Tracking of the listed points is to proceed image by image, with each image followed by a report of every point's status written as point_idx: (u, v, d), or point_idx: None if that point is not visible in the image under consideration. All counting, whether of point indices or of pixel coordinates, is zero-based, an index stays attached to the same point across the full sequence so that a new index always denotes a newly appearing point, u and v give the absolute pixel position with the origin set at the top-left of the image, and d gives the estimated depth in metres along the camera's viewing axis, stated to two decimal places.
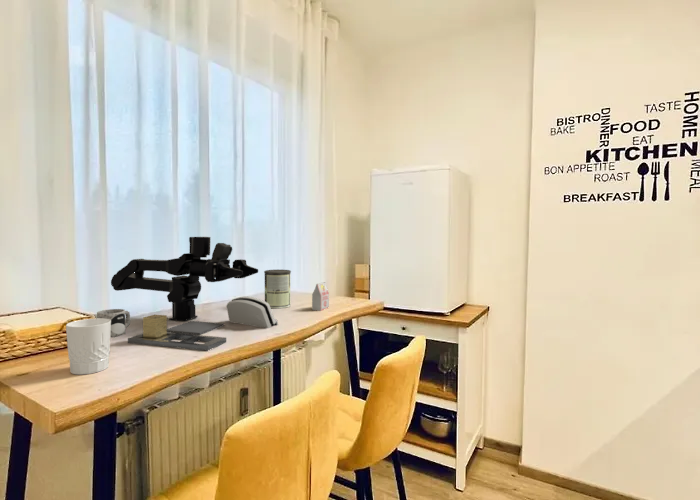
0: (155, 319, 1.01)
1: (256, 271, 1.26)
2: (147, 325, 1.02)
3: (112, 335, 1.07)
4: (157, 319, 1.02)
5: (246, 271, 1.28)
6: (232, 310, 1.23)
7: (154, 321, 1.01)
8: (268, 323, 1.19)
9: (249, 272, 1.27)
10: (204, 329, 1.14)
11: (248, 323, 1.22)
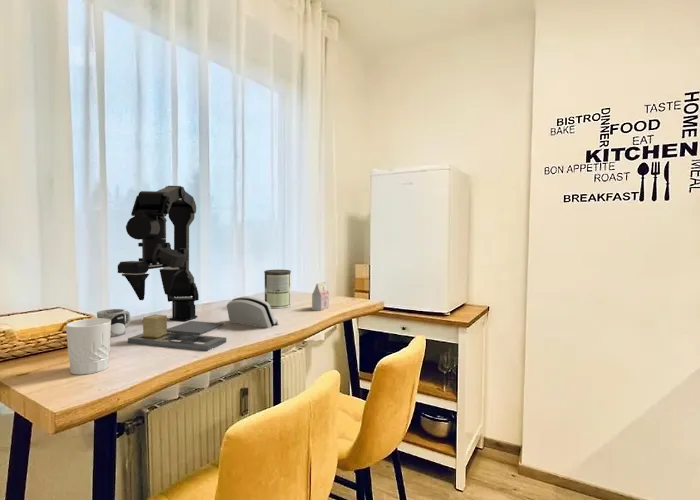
0: (155, 319, 1.01)
1: (166, 293, 1.08)
2: (147, 325, 1.02)
3: (112, 335, 1.07)
4: (157, 319, 1.02)
5: (166, 278, 1.08)
6: (232, 310, 1.23)
7: (154, 321, 1.01)
8: (268, 323, 1.19)
9: (165, 283, 1.08)
10: (204, 329, 1.14)
11: (248, 323, 1.22)
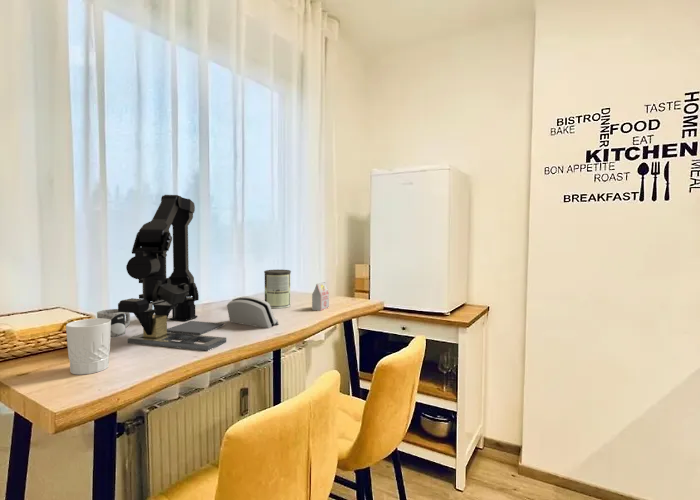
0: (155, 319, 1.01)
1: None
2: None
3: (112, 335, 1.07)
4: (157, 319, 1.02)
5: (160, 314, 1.06)
6: (232, 310, 1.23)
7: (154, 321, 1.01)
8: (269, 323, 1.19)
9: None
10: (204, 329, 1.14)
11: (249, 323, 1.22)
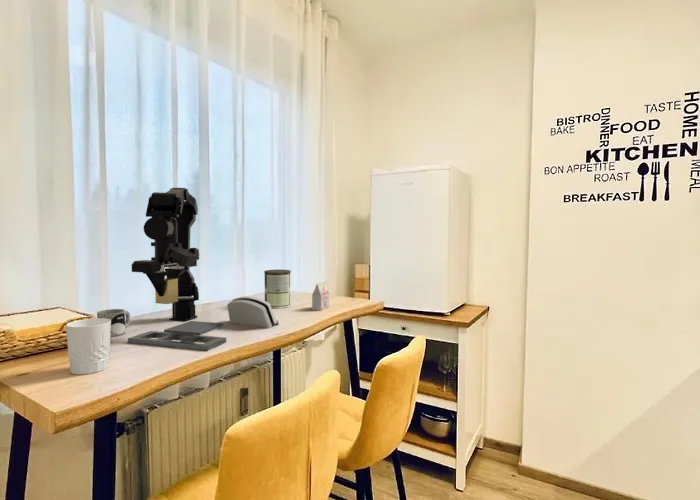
0: (167, 281, 1.05)
1: None
2: None
3: (112, 335, 1.07)
4: (169, 281, 1.05)
5: (171, 277, 1.10)
6: (233, 310, 1.23)
7: (166, 283, 1.05)
8: (269, 323, 1.19)
9: None
10: (204, 329, 1.14)
11: (249, 323, 1.22)
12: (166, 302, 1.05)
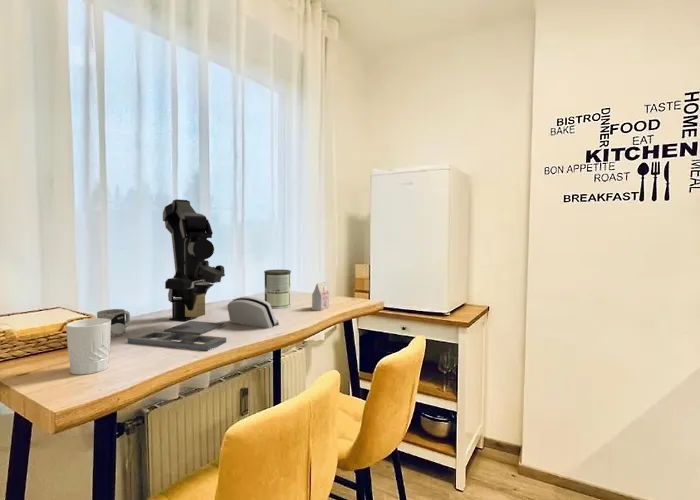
0: (196, 296, 1.14)
1: None
2: None
3: (112, 335, 1.07)
4: (197, 296, 1.15)
5: (198, 292, 1.19)
6: (233, 310, 1.23)
7: (195, 298, 1.14)
8: (269, 323, 1.19)
9: None
10: (204, 329, 1.14)
11: (249, 323, 1.22)
12: (195, 316, 1.15)
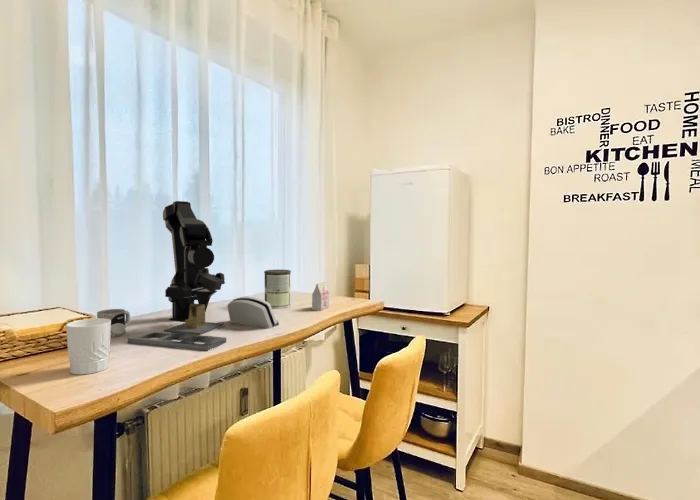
0: (196, 307, 1.14)
1: None
2: None
3: (112, 335, 1.07)
4: (198, 307, 1.15)
5: (202, 299, 1.21)
6: (233, 310, 1.23)
7: (195, 309, 1.14)
8: (269, 323, 1.18)
9: None
10: (204, 329, 1.14)
11: (249, 323, 1.22)
12: (195, 327, 1.15)
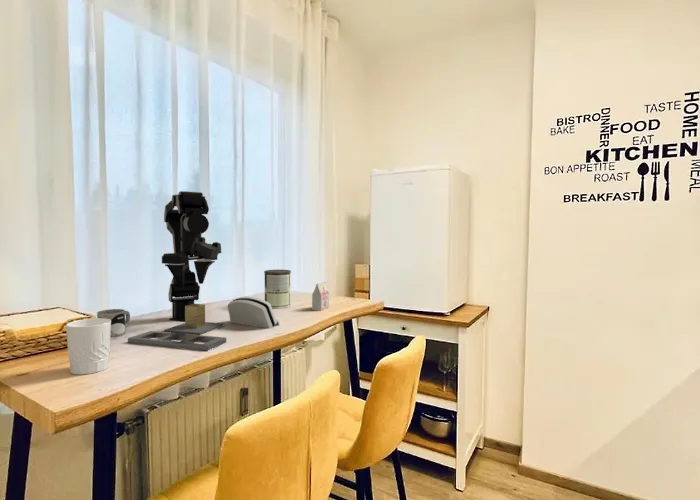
0: (196, 307, 1.14)
1: (200, 282, 1.21)
2: (188, 313, 1.15)
3: (112, 335, 1.07)
4: (198, 307, 1.15)
5: (200, 269, 1.22)
6: (233, 310, 1.23)
7: (195, 309, 1.14)
8: (269, 323, 1.18)
9: (199, 273, 1.21)
10: (204, 329, 1.14)
11: (249, 323, 1.22)
12: (195, 327, 1.15)
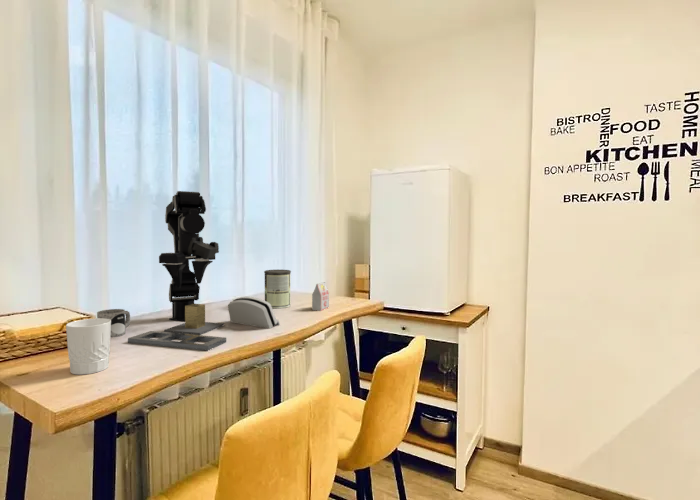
0: (196, 307, 1.14)
1: (198, 282, 1.21)
2: (188, 313, 1.15)
3: (112, 335, 1.07)
4: (198, 307, 1.15)
5: (197, 268, 1.22)
6: (233, 310, 1.23)
7: (195, 309, 1.14)
8: (270, 323, 1.18)
9: (196, 273, 1.21)
10: (204, 329, 1.14)
11: (249, 323, 1.22)
12: (195, 327, 1.15)
